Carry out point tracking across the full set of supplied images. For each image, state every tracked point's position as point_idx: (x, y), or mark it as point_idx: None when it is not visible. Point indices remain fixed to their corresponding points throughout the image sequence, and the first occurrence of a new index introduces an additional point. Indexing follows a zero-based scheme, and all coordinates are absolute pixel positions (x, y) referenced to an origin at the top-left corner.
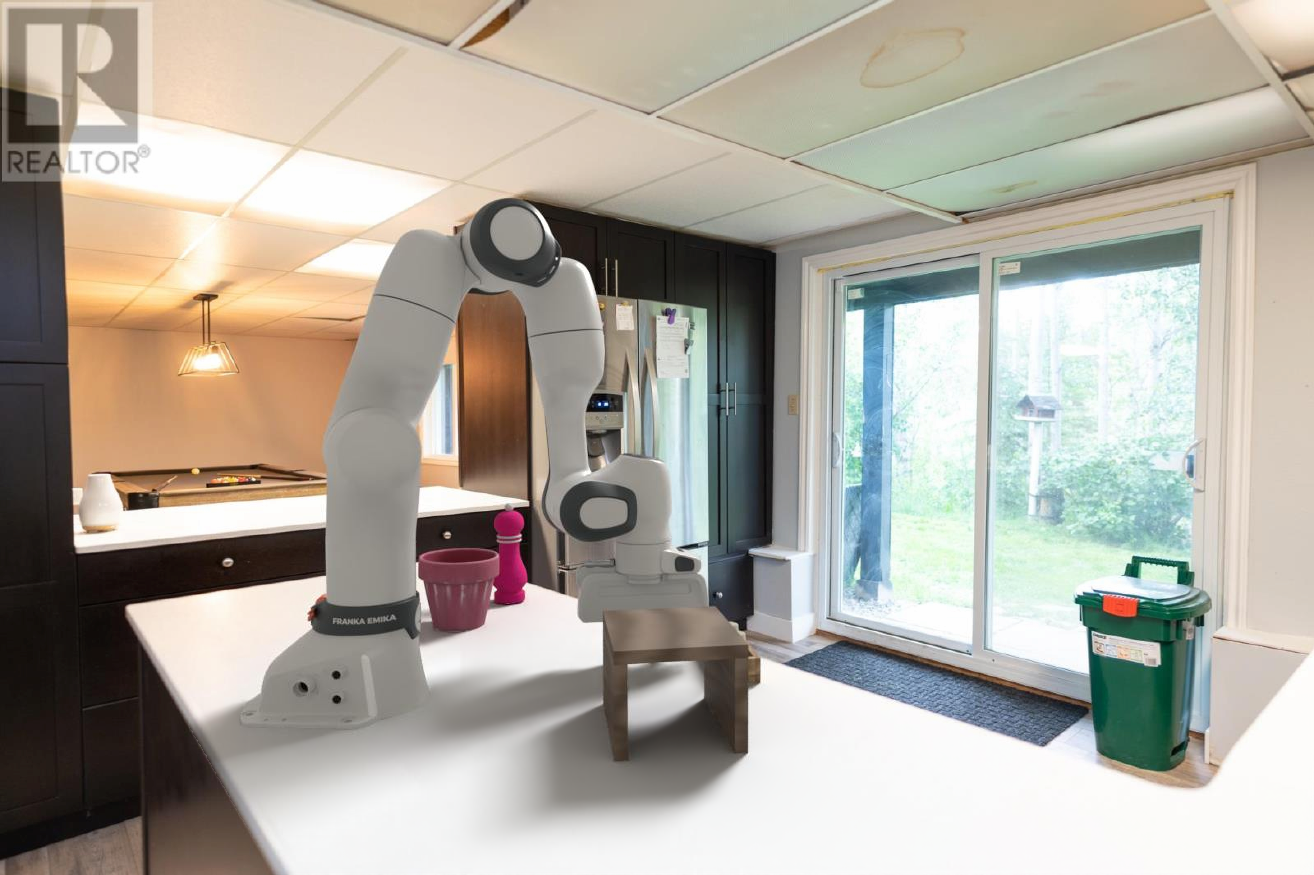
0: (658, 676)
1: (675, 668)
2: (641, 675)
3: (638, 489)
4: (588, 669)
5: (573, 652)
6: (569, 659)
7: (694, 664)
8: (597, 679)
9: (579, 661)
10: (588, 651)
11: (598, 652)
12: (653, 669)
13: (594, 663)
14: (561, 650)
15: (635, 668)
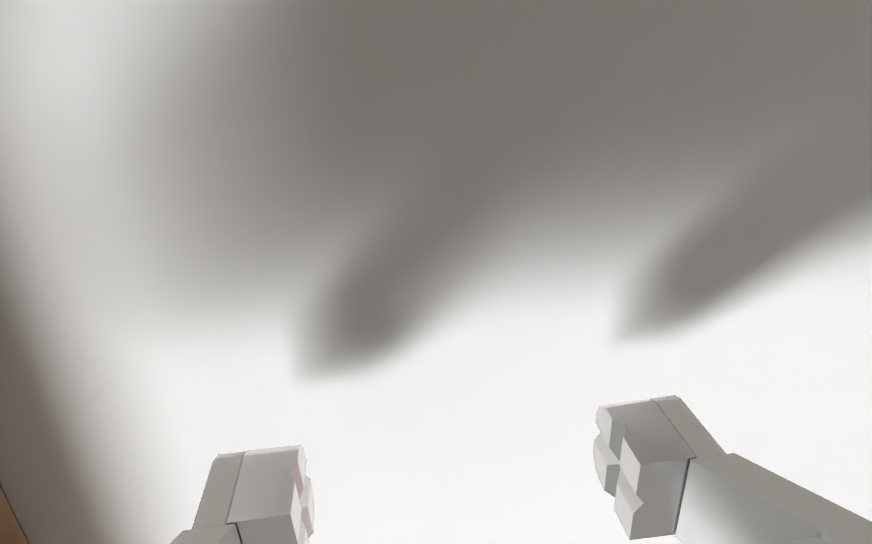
0: (341, 64)
1: (196, 236)
2: (482, 101)
3: None
4: (821, 249)
5: None
6: (868, 407)
7: (39, 312)
8: (827, 45)
9: (827, 378)
10: None
11: None
12: (376, 225)
13: (753, 347)
14: None
15: (509, 251)
